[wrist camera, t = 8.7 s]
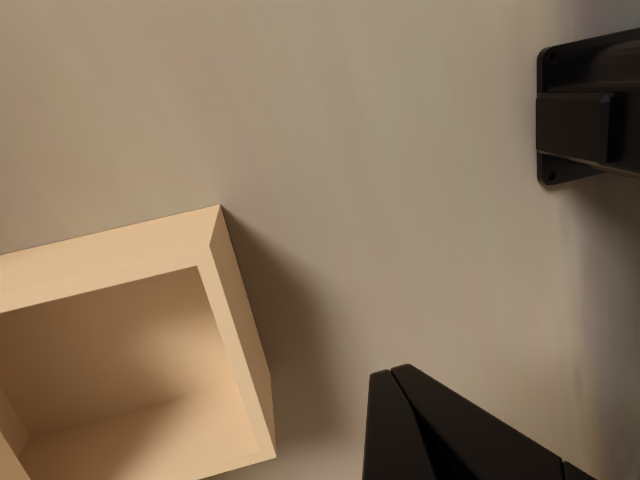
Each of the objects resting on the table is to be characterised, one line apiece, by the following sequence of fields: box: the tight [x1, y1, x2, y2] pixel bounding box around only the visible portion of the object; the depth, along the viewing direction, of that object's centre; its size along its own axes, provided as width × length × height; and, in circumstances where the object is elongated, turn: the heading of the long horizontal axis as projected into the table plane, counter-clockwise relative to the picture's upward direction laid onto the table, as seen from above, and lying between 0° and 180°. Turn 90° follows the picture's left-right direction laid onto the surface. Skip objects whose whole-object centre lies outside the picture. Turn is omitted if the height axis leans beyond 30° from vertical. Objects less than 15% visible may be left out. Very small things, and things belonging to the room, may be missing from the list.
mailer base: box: [0, 205, 277, 480], centre depth 18 cm, size 13×10×6 cm
